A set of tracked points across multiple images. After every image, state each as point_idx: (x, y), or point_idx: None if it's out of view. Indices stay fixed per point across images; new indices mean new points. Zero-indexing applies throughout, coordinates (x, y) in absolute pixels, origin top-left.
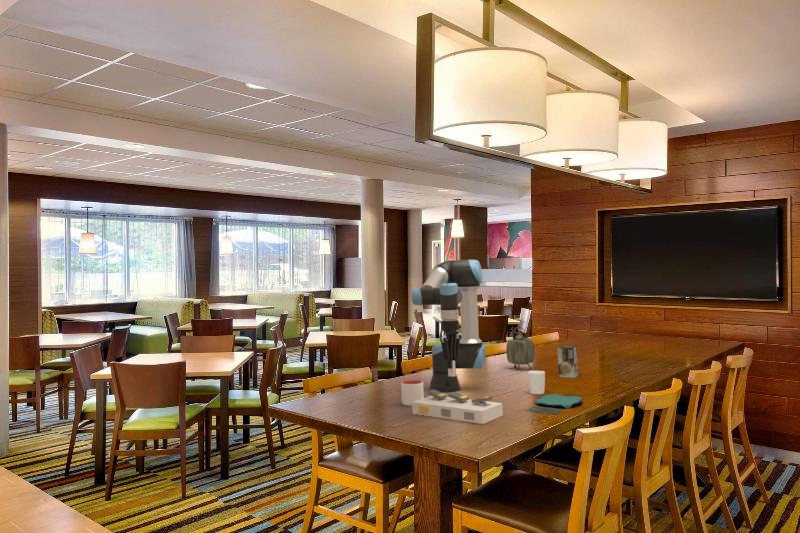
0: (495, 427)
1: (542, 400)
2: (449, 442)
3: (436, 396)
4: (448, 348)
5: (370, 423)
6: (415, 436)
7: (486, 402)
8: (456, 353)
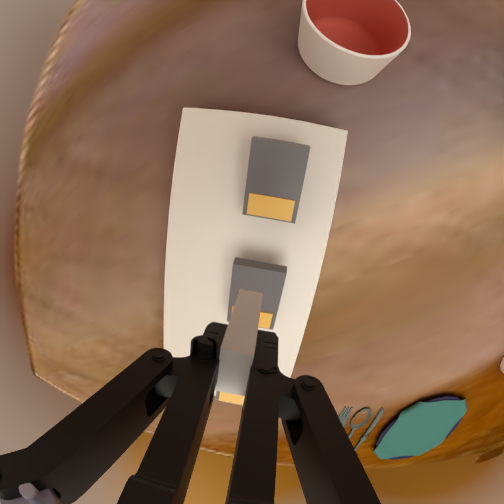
0: None
1: (432, 407)
2: (47, 326)
3: (245, 190)
4: (113, 459)
5: (71, 84)
6: (36, 252)
7: None
8: (289, 438)
